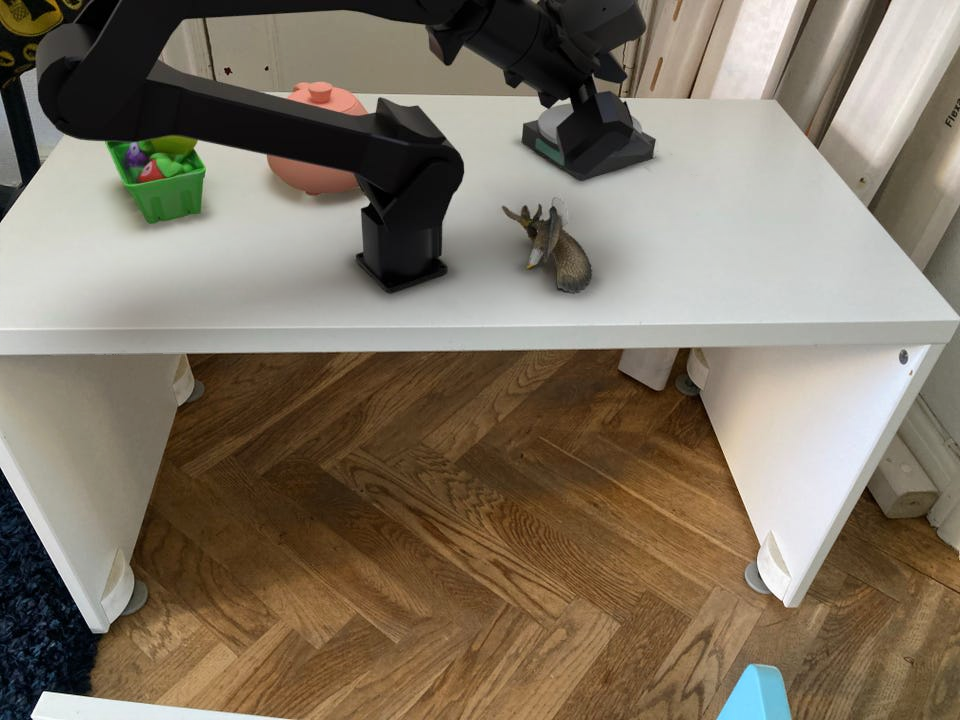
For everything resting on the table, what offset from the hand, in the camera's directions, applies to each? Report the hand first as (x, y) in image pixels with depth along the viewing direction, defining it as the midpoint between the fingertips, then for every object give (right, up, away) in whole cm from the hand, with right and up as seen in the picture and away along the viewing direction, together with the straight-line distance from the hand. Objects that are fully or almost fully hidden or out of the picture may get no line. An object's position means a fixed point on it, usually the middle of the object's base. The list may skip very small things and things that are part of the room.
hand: (635, 113), depth 77 cm
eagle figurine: (-8, -14, +1) cm, 16 cm away
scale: (-2, +2, +20) cm, 20 cm away
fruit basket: (-46, -7, +8) cm, 48 cm away
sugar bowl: (-31, -3, +13) cm, 34 cm away
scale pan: (-2, +4, +18) cm, 19 cm away
